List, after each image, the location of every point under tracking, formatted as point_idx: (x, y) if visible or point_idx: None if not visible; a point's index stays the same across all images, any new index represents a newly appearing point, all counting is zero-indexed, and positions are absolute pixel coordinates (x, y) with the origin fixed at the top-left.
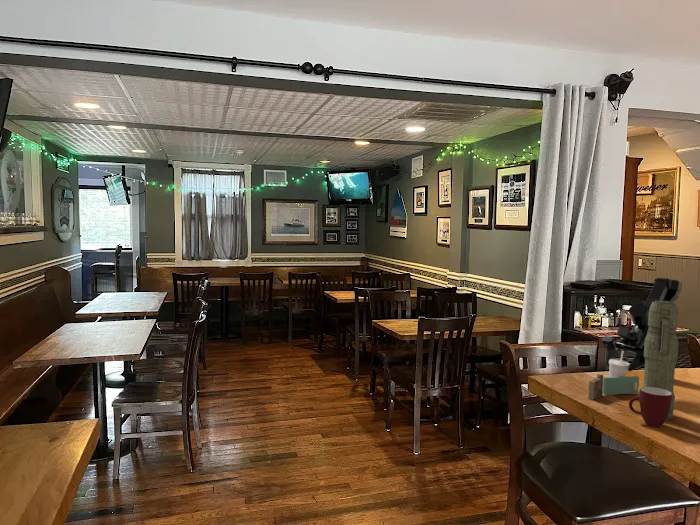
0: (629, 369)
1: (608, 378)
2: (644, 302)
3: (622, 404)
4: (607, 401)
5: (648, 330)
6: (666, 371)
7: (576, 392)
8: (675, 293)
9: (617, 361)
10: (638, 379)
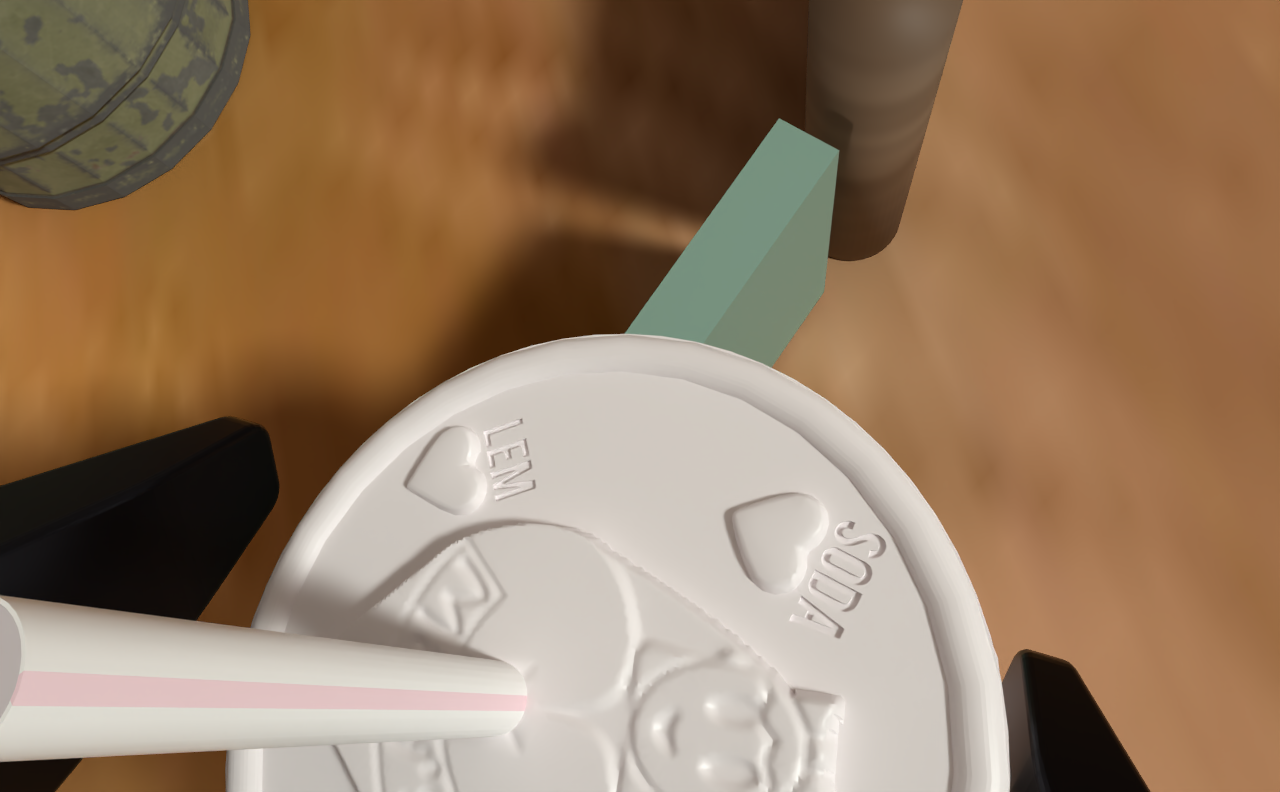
0: (225, 432)
1: (736, 186)
2: None
3: (469, 81)
4: (652, 40)
5: None
6: None
7: (1162, 66)
8: None
9: (627, 682)
10: None
